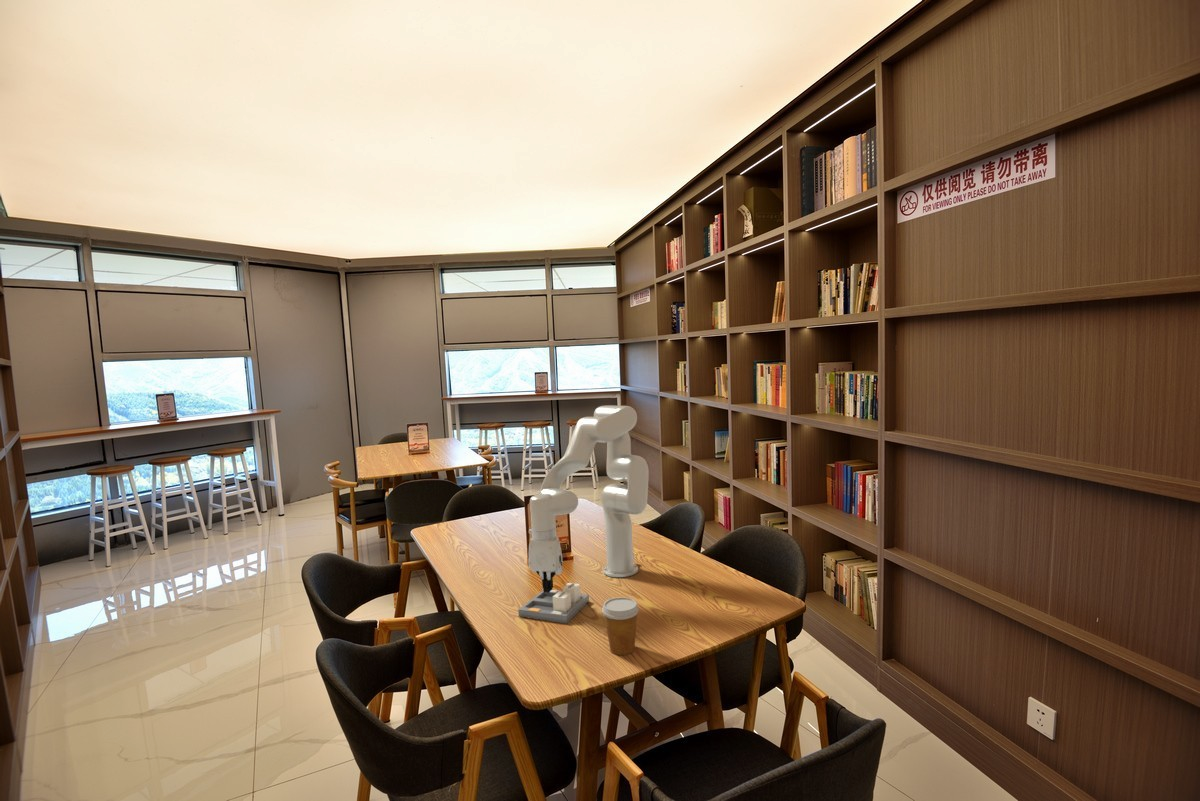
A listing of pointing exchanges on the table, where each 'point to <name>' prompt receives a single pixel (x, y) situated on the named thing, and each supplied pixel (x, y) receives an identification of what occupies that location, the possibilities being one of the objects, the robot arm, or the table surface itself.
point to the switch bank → (550, 608)
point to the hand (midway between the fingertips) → (548, 590)
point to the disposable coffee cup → (621, 624)
